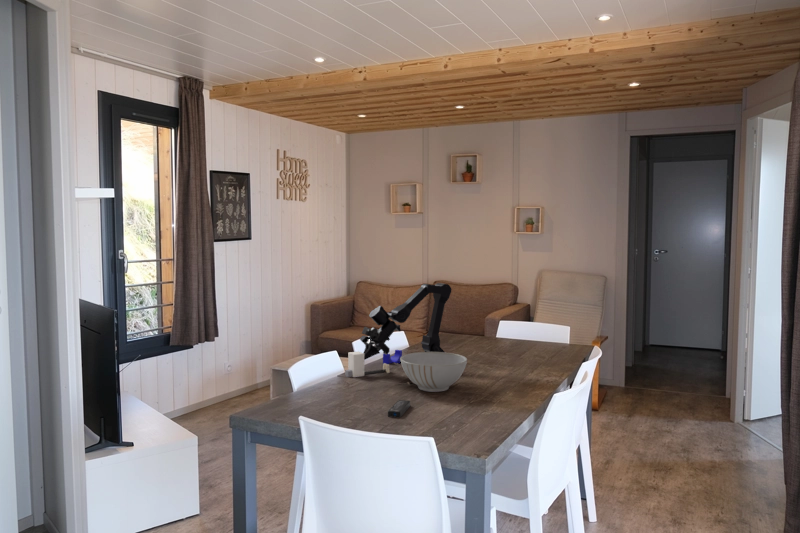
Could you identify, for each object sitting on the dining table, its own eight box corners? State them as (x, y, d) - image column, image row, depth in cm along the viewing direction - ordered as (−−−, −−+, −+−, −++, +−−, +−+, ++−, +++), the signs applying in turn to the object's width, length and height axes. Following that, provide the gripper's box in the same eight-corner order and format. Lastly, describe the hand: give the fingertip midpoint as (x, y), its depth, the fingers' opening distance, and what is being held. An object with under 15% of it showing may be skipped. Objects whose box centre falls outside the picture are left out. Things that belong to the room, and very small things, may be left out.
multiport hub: (410, 407, 219) (410, 400, 218) (400, 418, 205) (400, 412, 204) (398, 406, 220) (398, 399, 220) (387, 417, 206) (387, 411, 206)
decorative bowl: (410, 399, 227) (411, 367, 227) (392, 382, 253) (392, 353, 253) (477, 394, 235) (477, 363, 234) (453, 378, 260) (453, 350, 260)
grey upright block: (358, 373, 263) (358, 351, 262) (364, 375, 258) (364, 353, 257) (348, 374, 260) (348, 352, 260) (353, 377, 256) (353, 354, 255)
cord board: (382, 372, 271) (383, 361, 271) (393, 376, 262) (393, 366, 262) (341, 377, 261) (341, 366, 261) (351, 382, 253) (351, 371, 252)
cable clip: (394, 361, 294) (394, 349, 294) (401, 362, 292) (401, 350, 291) (380, 366, 284) (380, 353, 284) (388, 367, 281) (388, 354, 281)
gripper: (363, 317, 270) (341, 344, 265) (383, 323, 254) (359, 351, 249) (379, 333, 274) (357, 360, 269) (399, 340, 258) (376, 368, 253)
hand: (362, 359), depth 260 cm, fingers closed, pressing on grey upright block
